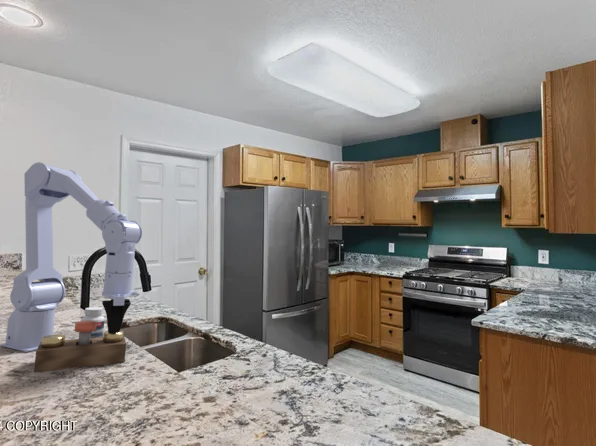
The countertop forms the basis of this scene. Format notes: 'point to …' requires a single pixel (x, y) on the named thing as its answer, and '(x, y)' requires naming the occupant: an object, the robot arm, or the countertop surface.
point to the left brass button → (53, 341)
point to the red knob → (85, 331)
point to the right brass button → (112, 336)
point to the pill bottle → (95, 315)
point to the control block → (79, 354)
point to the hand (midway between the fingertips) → (113, 332)
